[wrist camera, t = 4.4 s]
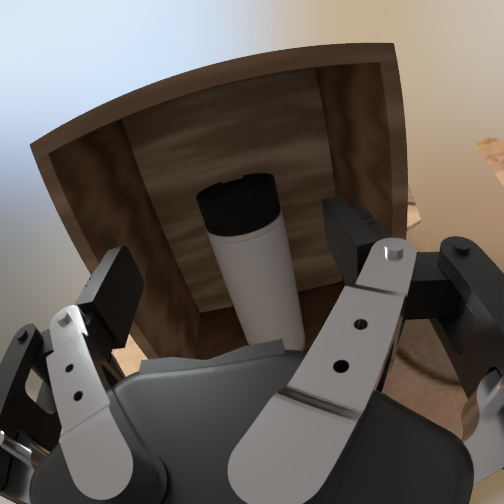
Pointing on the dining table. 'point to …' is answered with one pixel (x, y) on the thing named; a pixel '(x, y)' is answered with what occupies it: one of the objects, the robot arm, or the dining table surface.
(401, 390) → the dining table surface
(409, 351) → the dining table surface
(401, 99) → the cubby
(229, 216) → the travel mug
